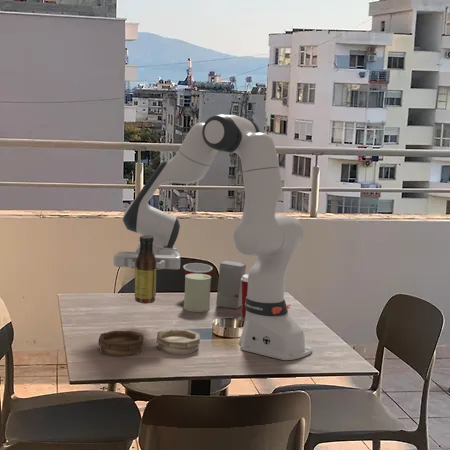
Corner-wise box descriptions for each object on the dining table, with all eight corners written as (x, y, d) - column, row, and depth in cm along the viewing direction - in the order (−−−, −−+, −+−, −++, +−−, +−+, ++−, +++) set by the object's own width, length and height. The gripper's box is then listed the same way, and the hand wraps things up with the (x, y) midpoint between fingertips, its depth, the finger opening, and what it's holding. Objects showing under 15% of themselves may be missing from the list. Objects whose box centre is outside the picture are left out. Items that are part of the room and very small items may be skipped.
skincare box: (215, 306, 258) (218, 263, 256) (221, 301, 265) (223, 259, 263) (238, 309, 256) (241, 265, 254) (244, 304, 263) (246, 262, 260)
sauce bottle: (144, 297, 221) (148, 233, 218) (159, 302, 217) (163, 236, 214) (129, 301, 216) (132, 235, 213) (143, 305, 212) (147, 239, 209)
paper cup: (259, 320, 245) (262, 279, 242) (237, 317, 246) (239, 277, 244) (263, 314, 252) (265, 274, 250) (241, 311, 254) (243, 272, 251)
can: (209, 312, 251) (210, 278, 249) (182, 311, 251) (184, 277, 249) (210, 305, 260) (211, 272, 258) (184, 304, 260) (185, 271, 258)
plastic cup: (184, 301, 263) (185, 269, 261) (179, 294, 273) (181, 262, 271) (213, 301, 265) (215, 269, 263) (208, 294, 275) (209, 263, 274)
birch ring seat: (207, 348, 213) (208, 336, 213) (177, 357, 204) (177, 345, 204) (178, 337, 222) (179, 326, 221) (148, 346, 213) (148, 334, 212)
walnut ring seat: (151, 350, 209) (152, 338, 209) (118, 359, 200) (118, 347, 200) (124, 339, 217) (124, 328, 217) (90, 348, 208) (90, 336, 208)
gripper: (116, 245, 227) (110, 254, 213) (181, 247, 228) (180, 256, 214) (115, 264, 228) (109, 275, 214) (180, 267, 229) (179, 277, 215)
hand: (145, 266), depth 214 cm, fingers closed on sauce bottle, 6 cm apart
